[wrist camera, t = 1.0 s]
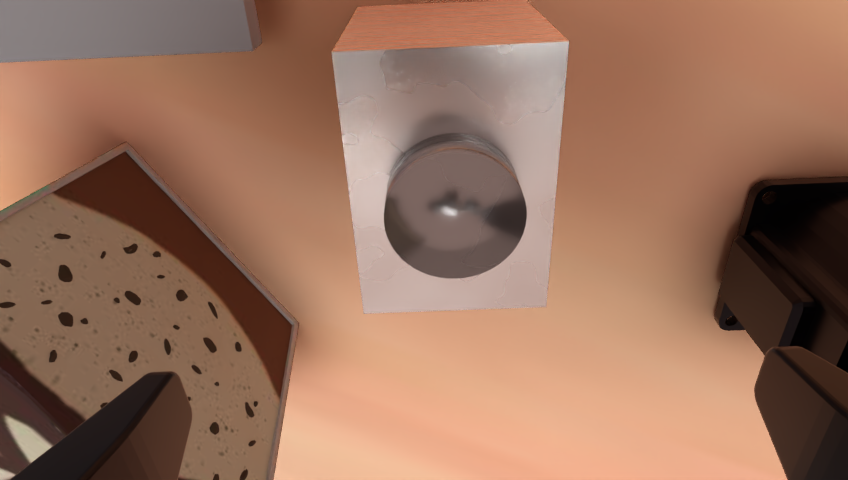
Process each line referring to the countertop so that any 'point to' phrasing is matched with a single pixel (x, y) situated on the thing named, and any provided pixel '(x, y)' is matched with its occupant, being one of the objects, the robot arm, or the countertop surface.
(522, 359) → the countertop surface
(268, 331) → the food container
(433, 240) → the housing
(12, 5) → the stand
